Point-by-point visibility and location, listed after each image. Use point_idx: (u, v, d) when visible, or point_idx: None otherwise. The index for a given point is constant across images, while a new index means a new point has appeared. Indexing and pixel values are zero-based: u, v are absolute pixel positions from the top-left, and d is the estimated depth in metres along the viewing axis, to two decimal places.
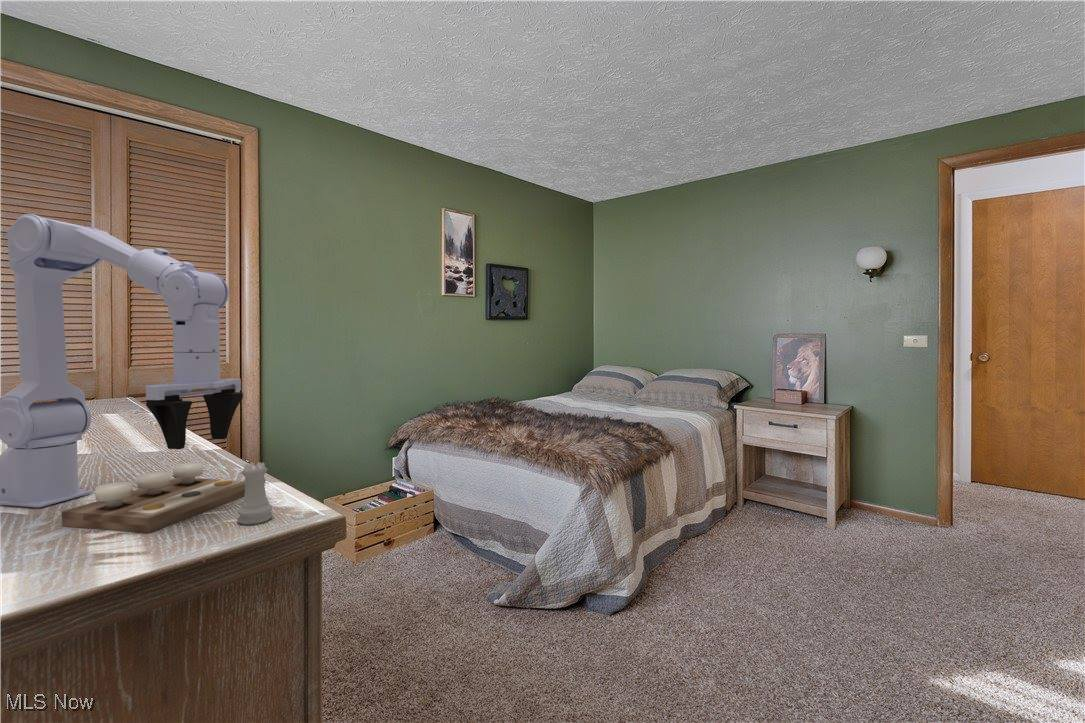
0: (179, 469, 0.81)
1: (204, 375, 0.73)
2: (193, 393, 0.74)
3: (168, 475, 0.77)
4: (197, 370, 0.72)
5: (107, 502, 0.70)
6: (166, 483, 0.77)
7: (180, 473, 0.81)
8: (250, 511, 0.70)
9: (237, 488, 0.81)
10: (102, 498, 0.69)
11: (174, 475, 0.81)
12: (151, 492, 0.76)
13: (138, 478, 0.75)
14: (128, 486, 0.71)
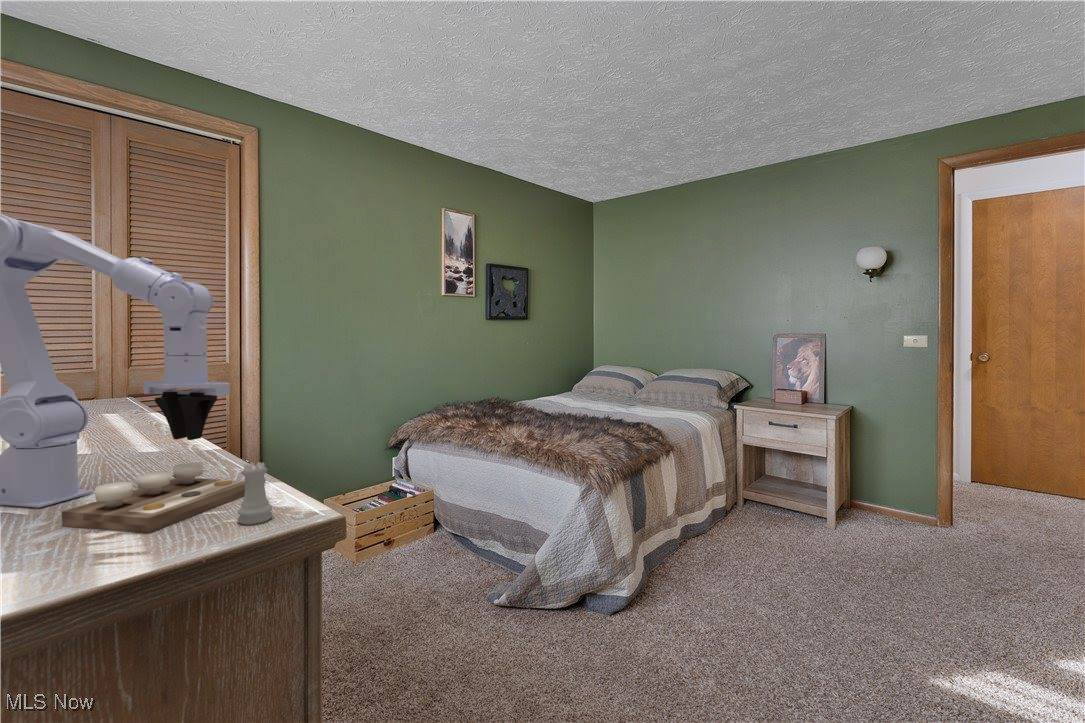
0: (179, 469, 0.81)
1: (165, 376, 0.80)
2: (179, 392, 0.82)
3: (168, 475, 0.77)
4: (164, 371, 0.80)
5: (107, 502, 0.70)
6: (166, 483, 0.77)
7: (180, 473, 0.81)
8: (250, 511, 0.70)
9: (237, 488, 0.81)
10: (102, 498, 0.69)
11: (174, 475, 0.81)
12: (151, 492, 0.76)
13: (138, 478, 0.75)
14: (128, 486, 0.71)
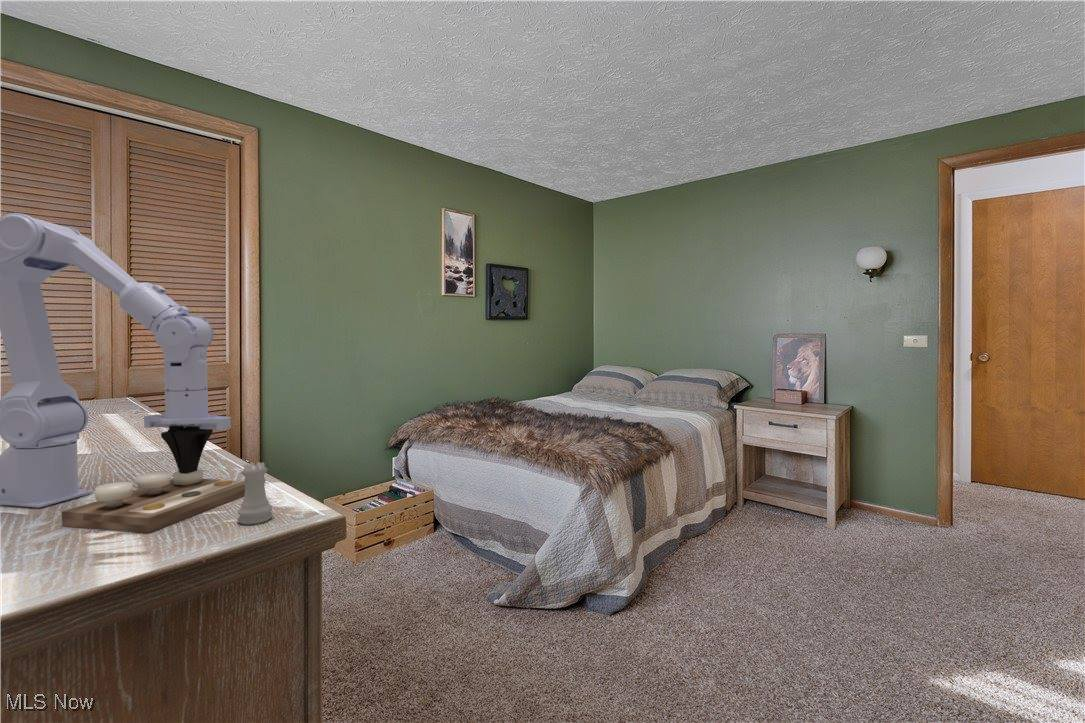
0: (179, 476, 0.81)
1: (166, 411, 0.80)
2: None
3: (168, 475, 0.77)
4: (165, 406, 0.81)
5: (107, 502, 0.70)
6: (166, 483, 0.77)
7: (180, 480, 0.81)
8: (250, 511, 0.70)
9: (237, 488, 0.81)
10: (102, 498, 0.69)
11: (174, 482, 0.81)
12: (151, 492, 0.76)
13: (138, 478, 0.75)
14: (128, 486, 0.71)
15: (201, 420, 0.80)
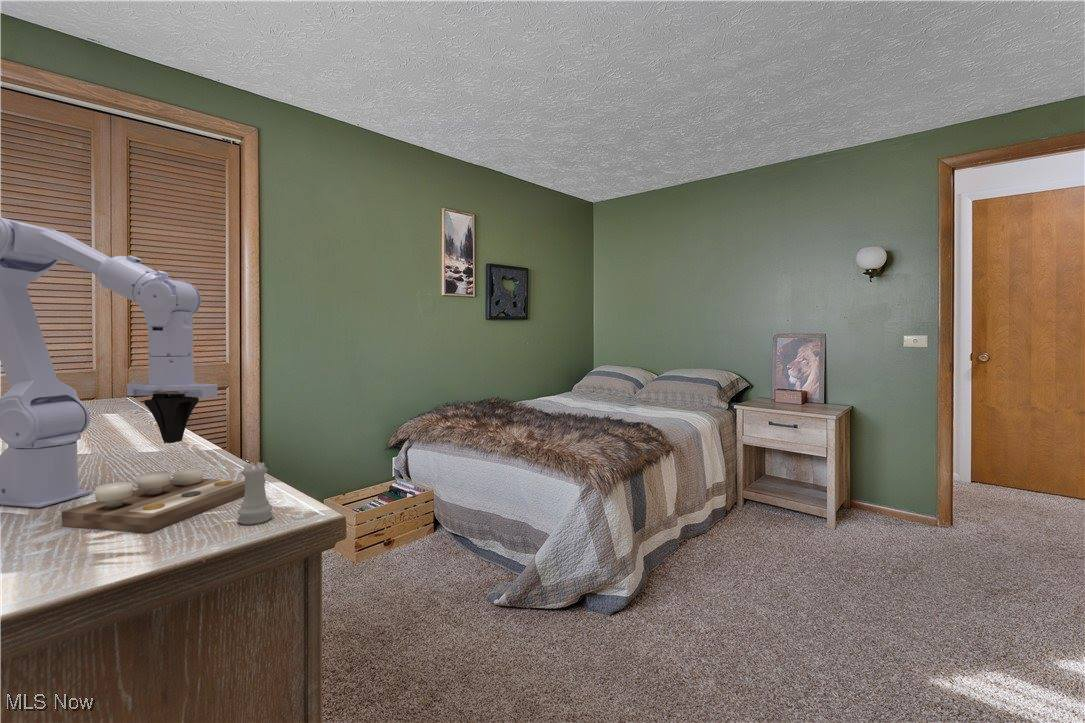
0: (179, 476, 0.81)
1: (149, 378, 0.77)
2: (164, 394, 0.79)
3: (168, 475, 0.77)
4: None
5: (107, 502, 0.70)
6: (166, 483, 0.77)
7: (180, 480, 0.81)
8: (250, 511, 0.70)
9: (237, 488, 0.81)
10: (102, 498, 0.69)
11: (174, 482, 0.81)
12: (151, 492, 0.76)
13: (138, 478, 0.75)
14: (128, 486, 0.71)
15: (186, 387, 0.77)
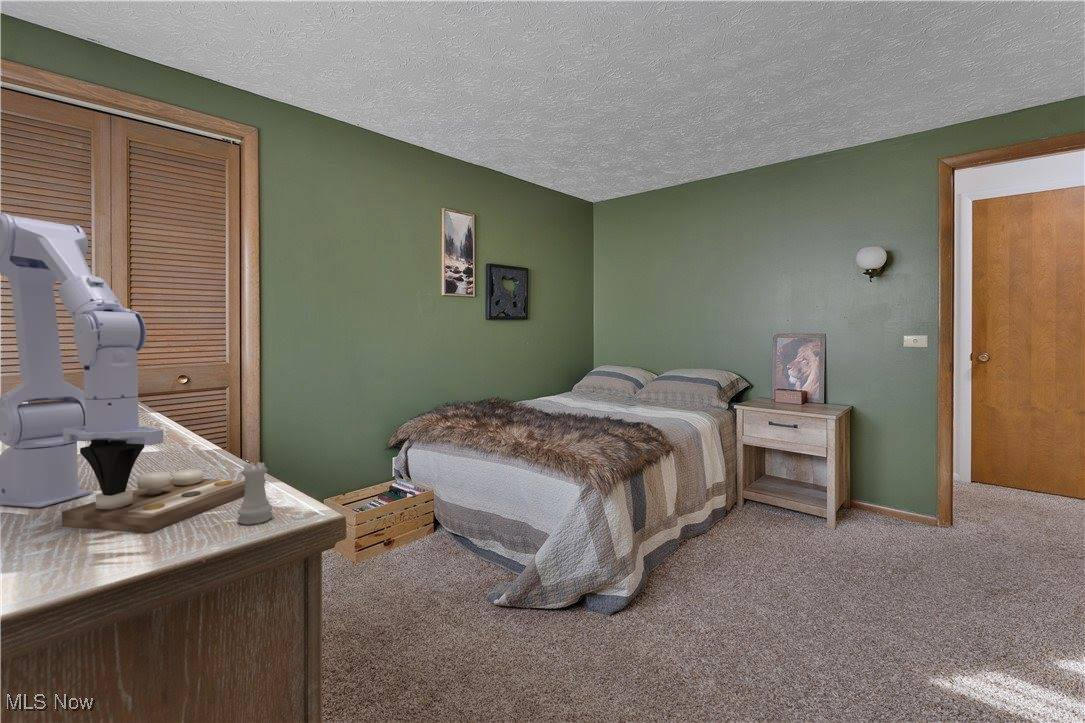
0: (179, 476, 0.81)
1: (85, 423, 0.68)
2: (104, 440, 0.70)
3: (168, 475, 0.77)
4: None
5: None
6: (166, 483, 0.77)
7: (180, 480, 0.81)
8: (250, 511, 0.70)
9: (237, 488, 0.81)
10: (102, 506, 0.69)
11: (174, 482, 0.81)
12: (151, 492, 0.76)
13: (138, 478, 0.75)
14: (128, 494, 0.71)
15: (126, 433, 0.68)
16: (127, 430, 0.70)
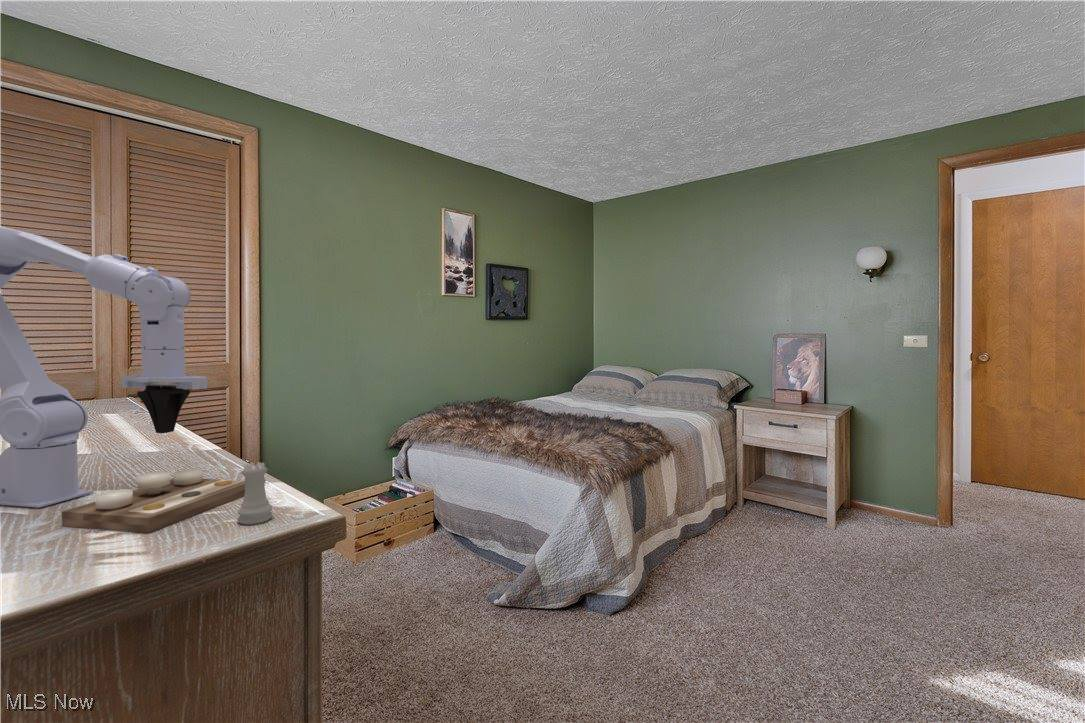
0: (179, 476, 0.81)
1: (142, 370, 0.80)
2: (156, 386, 0.82)
3: (168, 475, 0.77)
4: (141, 365, 0.81)
5: None
6: (166, 483, 0.77)
7: (180, 480, 0.81)
8: (250, 511, 0.70)
9: (237, 488, 0.81)
10: (102, 506, 0.69)
11: (174, 482, 0.81)
12: (151, 492, 0.76)
13: (138, 478, 0.75)
14: (128, 494, 0.71)
15: (177, 379, 0.80)
16: (176, 377, 0.81)
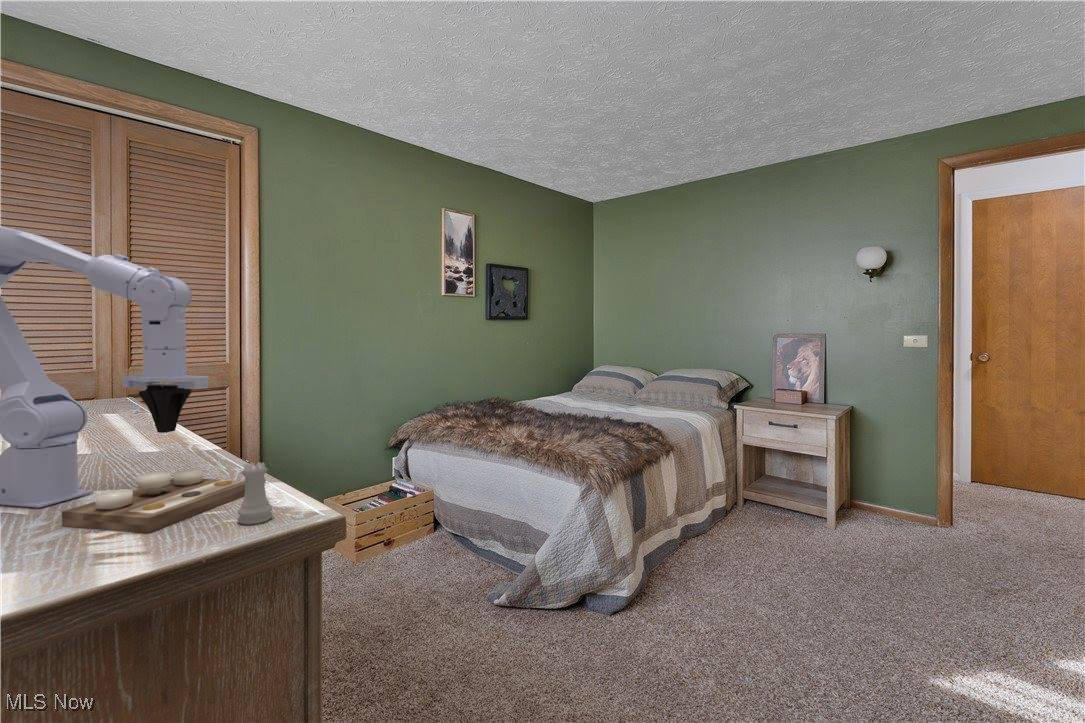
0: (179, 476, 0.81)
1: (143, 370, 0.81)
2: (157, 385, 0.83)
3: (168, 475, 0.77)
4: (143, 365, 0.81)
5: None
6: (166, 483, 0.77)
7: (180, 480, 0.81)
8: (250, 511, 0.70)
9: (237, 488, 0.81)
10: (102, 506, 0.69)
11: (174, 482, 0.81)
12: (151, 492, 0.76)
13: (138, 478, 0.75)
14: (128, 494, 0.71)
15: (178, 378, 0.80)
16: (178, 376, 0.82)
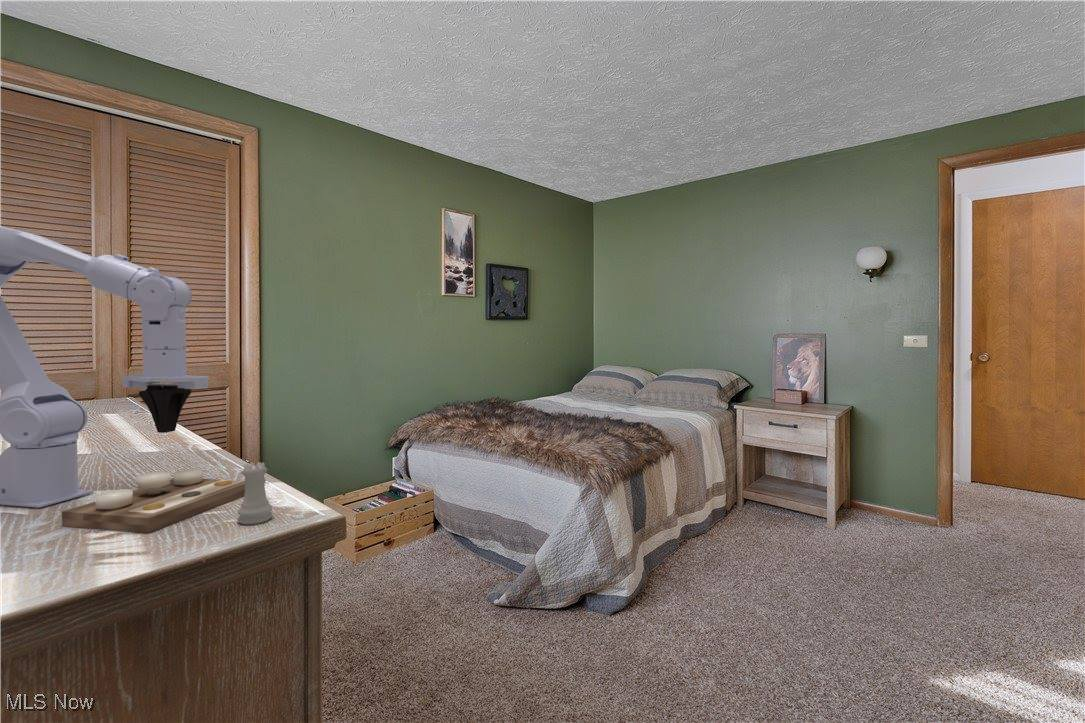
0: (179, 476, 0.81)
1: (143, 370, 0.81)
2: (157, 385, 0.83)
3: (168, 475, 0.77)
4: (143, 365, 0.81)
5: None
6: (166, 483, 0.77)
7: (180, 480, 0.81)
8: (250, 511, 0.70)
9: (237, 488, 0.81)
10: (102, 506, 0.69)
11: (174, 482, 0.81)
12: (151, 492, 0.76)
13: (138, 478, 0.75)
14: (128, 494, 0.71)
15: (178, 378, 0.80)
16: (178, 376, 0.82)
